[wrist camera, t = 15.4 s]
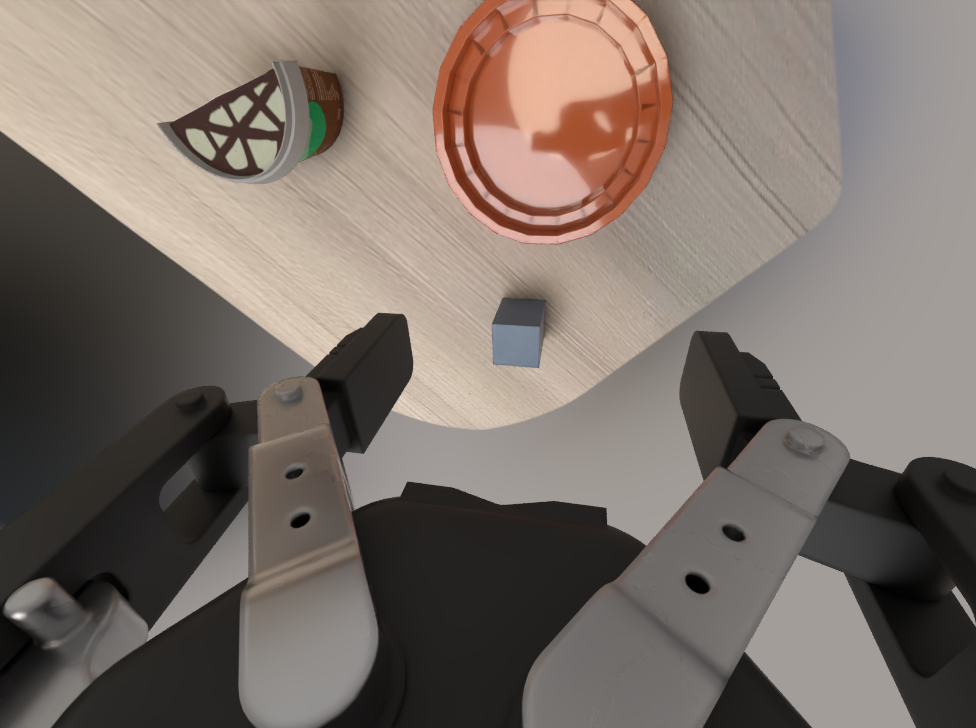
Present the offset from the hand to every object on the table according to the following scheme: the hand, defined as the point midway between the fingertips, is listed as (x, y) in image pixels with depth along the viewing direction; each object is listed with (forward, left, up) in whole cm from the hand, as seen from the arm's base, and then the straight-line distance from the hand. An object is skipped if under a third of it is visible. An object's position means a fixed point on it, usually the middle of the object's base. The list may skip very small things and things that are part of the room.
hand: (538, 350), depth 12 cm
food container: (+24, -4, -30) cm, 39 cm away
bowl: (+2, -4, -30) cm, 30 cm away
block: (+4, +14, -30) cm, 33 cm away
